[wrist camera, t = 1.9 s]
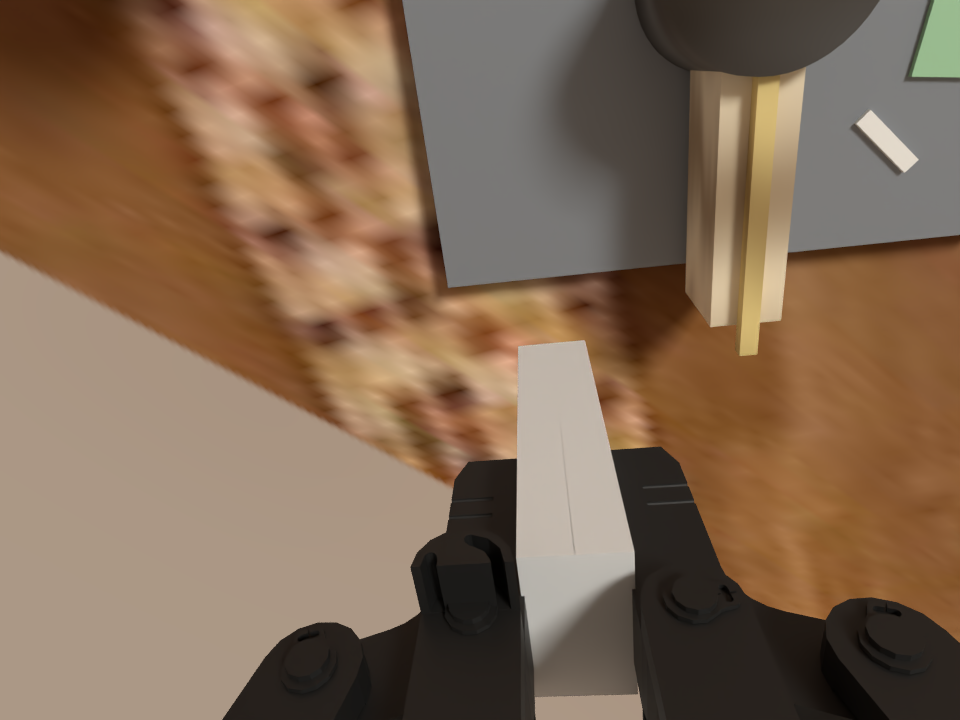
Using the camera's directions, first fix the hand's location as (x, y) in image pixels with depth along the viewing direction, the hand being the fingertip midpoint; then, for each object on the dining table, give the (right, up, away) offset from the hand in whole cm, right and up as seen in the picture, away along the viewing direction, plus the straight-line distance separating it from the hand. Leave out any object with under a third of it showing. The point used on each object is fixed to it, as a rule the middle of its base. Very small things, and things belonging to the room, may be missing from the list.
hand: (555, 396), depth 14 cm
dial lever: (+7, +10, +8) cm, 15 cm away
